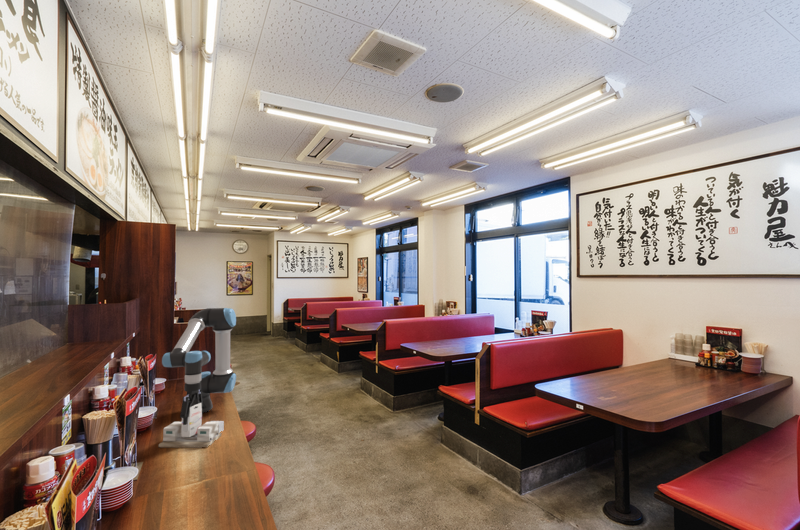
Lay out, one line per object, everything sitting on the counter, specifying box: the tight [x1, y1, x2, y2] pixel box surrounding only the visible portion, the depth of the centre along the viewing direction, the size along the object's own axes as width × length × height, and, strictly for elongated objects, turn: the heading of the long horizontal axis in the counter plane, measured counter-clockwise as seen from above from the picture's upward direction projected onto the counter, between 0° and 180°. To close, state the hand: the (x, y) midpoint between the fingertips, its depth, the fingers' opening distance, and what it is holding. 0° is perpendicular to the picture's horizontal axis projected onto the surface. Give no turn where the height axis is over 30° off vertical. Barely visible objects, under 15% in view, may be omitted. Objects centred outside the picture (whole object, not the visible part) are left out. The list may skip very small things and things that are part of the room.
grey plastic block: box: [210, 420, 225, 433], centre depth 198 cm, size 5×7×5 cm
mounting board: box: [158, 421, 223, 448], centre depth 186 cm, size 14×24×8 cm, turn 90°
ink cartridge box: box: [181, 403, 203, 437], centre depth 187 cm, size 9×5×15 cm, turn 169°
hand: (191, 426), depth 187 cm, fingers open, 9 cm apart
